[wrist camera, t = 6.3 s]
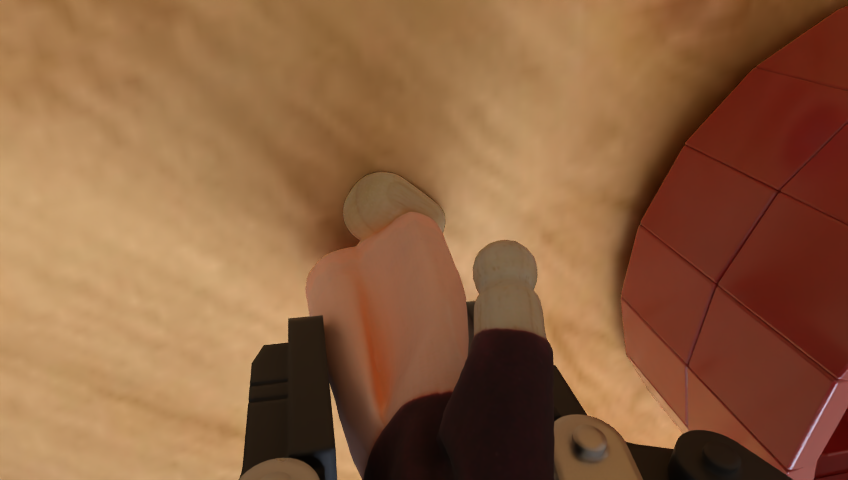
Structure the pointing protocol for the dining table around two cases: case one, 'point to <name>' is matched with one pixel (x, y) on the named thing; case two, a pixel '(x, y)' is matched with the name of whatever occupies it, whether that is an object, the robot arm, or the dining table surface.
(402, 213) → the grandmother figurine
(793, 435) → the red bowl
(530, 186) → the dining table surface
